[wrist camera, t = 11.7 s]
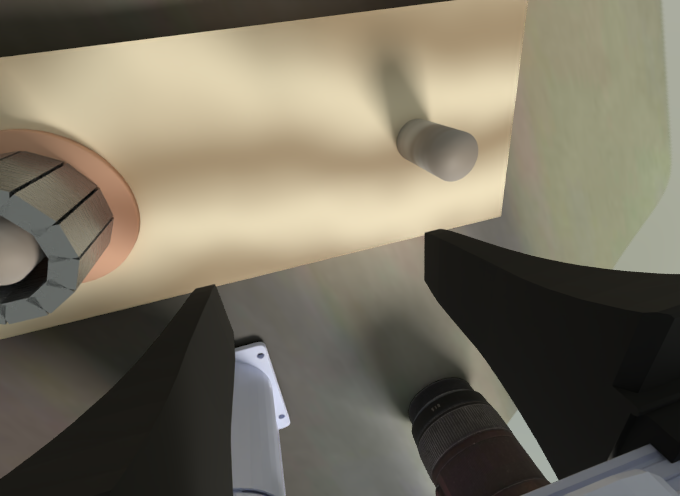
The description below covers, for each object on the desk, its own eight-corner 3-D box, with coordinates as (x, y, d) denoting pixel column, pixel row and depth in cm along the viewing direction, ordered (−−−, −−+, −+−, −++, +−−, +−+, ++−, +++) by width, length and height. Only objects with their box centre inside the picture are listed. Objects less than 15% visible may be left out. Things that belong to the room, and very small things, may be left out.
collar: (139, 216, 16) (112, 258, 13) (61, 287, 17) (15, 345, 13) (15, 123, 13) (-63, 143, 10) (-73, 212, 14) (-175, 261, 10)
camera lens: (458, 426, 36) (579, 623, 23) (391, 432, 33) (485, 659, 21) (489, 370, 33) (649, 564, 20) (417, 373, 30) (548, 598, 17)
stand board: (486, 208, 24) (553, 246, 19) (4, 323, 19) (-82, 418, 14) (508, -4, 18) (615, -32, 13) (-194, 85, 13) (-476, 99, 8)
